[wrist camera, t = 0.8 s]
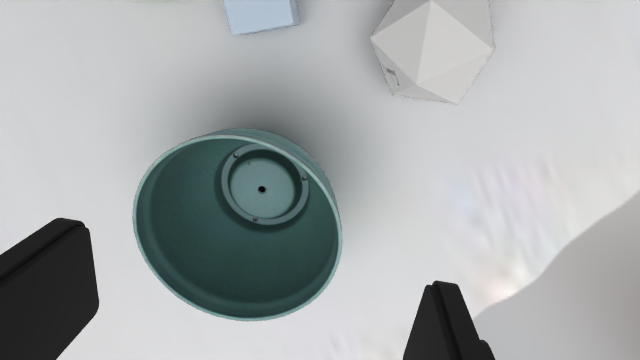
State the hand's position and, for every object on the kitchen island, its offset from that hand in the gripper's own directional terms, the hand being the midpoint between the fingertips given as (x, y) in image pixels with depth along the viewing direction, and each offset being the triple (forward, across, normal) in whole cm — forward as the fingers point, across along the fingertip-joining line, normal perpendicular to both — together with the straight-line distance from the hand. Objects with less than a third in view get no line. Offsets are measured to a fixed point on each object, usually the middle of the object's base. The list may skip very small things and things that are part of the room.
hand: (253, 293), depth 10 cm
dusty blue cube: (+26, +6, -8) cm, 28 cm away
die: (+27, -8, -6) cm, 28 cm away
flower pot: (+26, +5, +9) cm, 28 cm away
